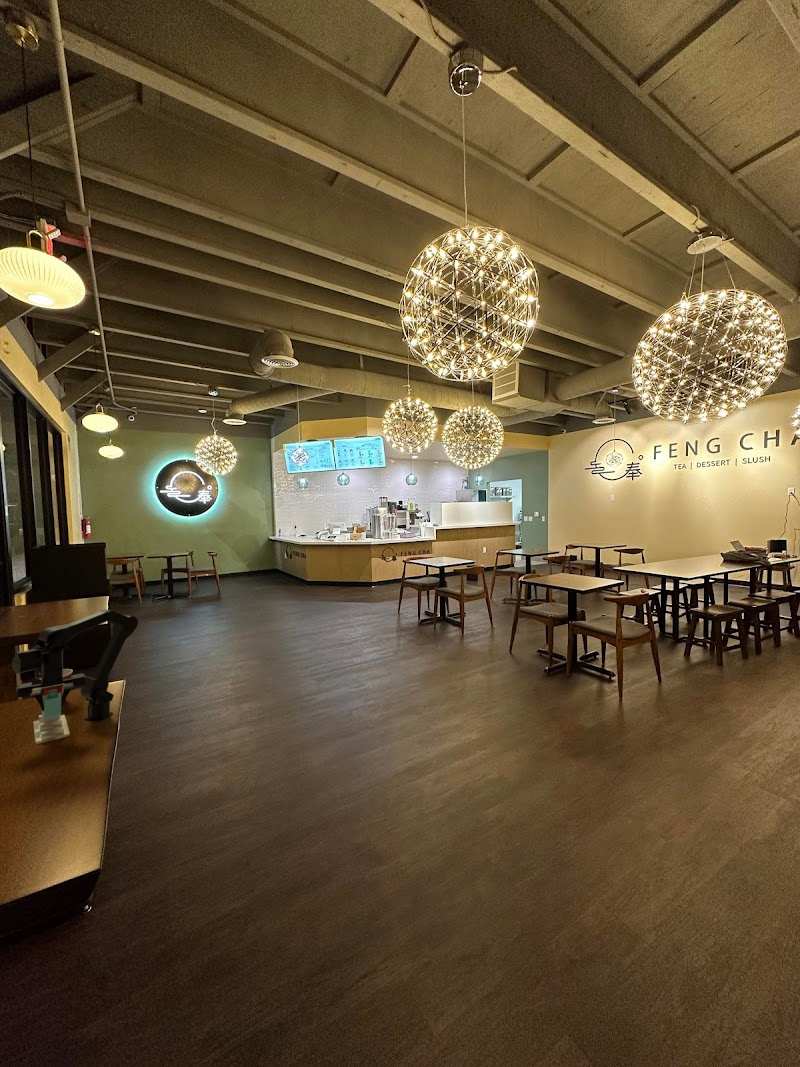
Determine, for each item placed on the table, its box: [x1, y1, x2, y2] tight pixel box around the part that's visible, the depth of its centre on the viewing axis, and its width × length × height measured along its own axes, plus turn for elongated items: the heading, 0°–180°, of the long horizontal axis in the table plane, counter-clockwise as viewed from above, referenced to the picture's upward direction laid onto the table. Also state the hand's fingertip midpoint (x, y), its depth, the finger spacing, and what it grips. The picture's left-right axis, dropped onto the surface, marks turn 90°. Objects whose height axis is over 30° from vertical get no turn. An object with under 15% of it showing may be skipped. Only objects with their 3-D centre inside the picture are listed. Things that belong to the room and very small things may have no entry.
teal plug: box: [43, 689, 62, 718], centre depth 151 cm, size 4×4×8 cm
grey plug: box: [41, 710, 59, 723], centre depth 157 cm, size 4×4×8 cm
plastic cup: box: [39, 668, 74, 701], centre depth 176 cm, size 11×11×12 cm
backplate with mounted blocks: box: [32, 714, 71, 745], centre depth 154 cm, size 9×19×3 cm, turn 42°
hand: (52, 709), depth 151 cm, fingers closed on teal plug, 4 cm apart
